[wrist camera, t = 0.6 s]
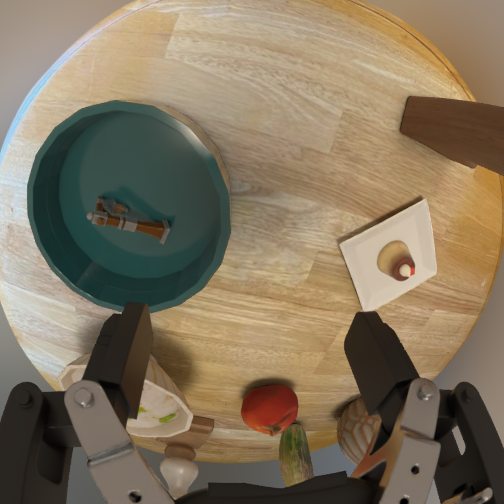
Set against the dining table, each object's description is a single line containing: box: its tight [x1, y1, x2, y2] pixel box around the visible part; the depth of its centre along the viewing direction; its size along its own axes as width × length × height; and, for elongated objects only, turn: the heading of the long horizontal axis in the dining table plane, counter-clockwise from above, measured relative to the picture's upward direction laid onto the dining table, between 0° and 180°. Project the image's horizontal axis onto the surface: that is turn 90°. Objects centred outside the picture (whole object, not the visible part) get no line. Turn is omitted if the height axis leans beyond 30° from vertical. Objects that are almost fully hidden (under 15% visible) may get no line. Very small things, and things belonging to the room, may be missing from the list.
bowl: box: [57, 353, 194, 437], centre depth 33 cm, size 19×19×10 cm
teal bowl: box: [27, 100, 231, 313], centre depth 24 cm, size 20×20×6 cm
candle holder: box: [156, 416, 214, 500], centre depth 38 cm, size 11×11×24 cm
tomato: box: [241, 385, 298, 436], centre depth 39 cm, size 9×9×8 cm
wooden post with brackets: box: [87, 196, 170, 244], centre depth 25 cm, size 2×8×4 cm, turn 60°
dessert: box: [339, 198, 437, 312], centre depth 29 cm, size 12×12×5 cm
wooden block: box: [400, 96, 504, 176], centre depth 16 cm, size 9×4×18 cm, turn 77°
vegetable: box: [279, 424, 314, 487], centre depth 41 cm, size 6×6×20 cm
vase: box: [337, 398, 381, 466], centre depth 41 cm, size 13×13×18 cm
